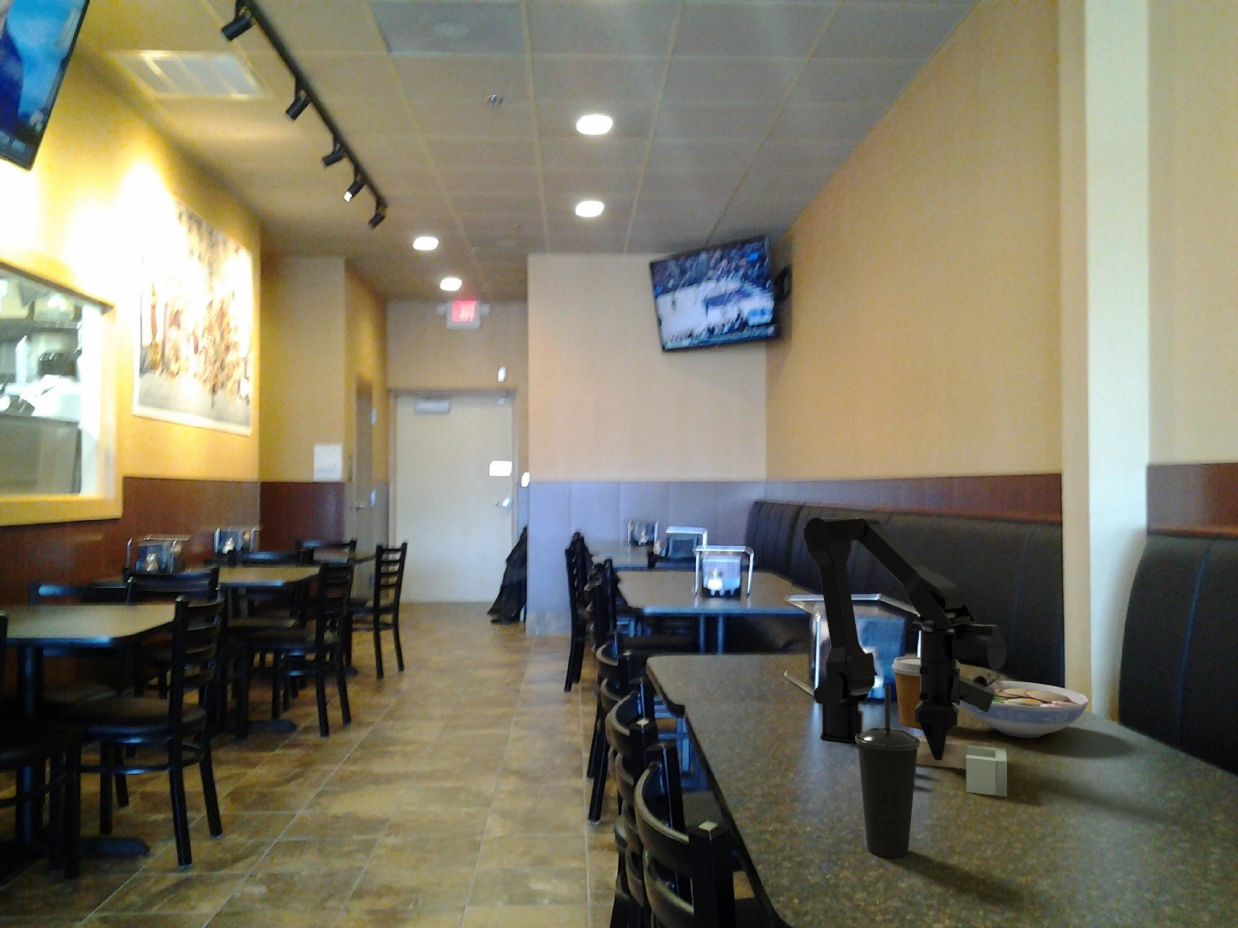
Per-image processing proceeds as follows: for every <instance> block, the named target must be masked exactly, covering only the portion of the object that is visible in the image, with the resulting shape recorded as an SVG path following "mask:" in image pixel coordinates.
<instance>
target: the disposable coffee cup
mask: <svg viewBox="0 0 1238 928" xmlns="http://www.w3.org/2000/svg"><path fill="white" fill-rule="evenodd" d="M891 668H892V670H893V672H894V680H895V689H896V696H897V697H896V698H897V704H898V714H899V721H900V724H901V725H903V726H905V727H910V728H915V729H922V728H921V726H920V723H918V722H915V709H916V706H917V705H918V704H919V703H920V702H921V700H919V693H920V674H919V671H920V656H900V657H899V656H898V657H895V658H894V659H893V664H891Z"/></svg>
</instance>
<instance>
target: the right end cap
mask: <svg viewBox="0 0 1238 928" xmlns="http://www.w3.org/2000/svg"><path fill="white" fill-rule="evenodd" d="M1007 759H1008V758H1007V748H1000V747H993V746H992V747H991V746H989V747H983V746H974V745H967V756H966V769H965V770H966V771H965V772H966V773H965V774H966V775H965V776H966V778H965V779H966V781H965V784H966V789H965V790H966V791H965V792H966V793H972V794H980V795H981V794H982V795H988V796H989V795H991V796H996V797H997V796H998V797H1004V798H1006V797H1008V790H1007V789H1008V787H1007V786H1008V776H1007V775H1008V771H1007V770H1008V760H1007Z"/></svg>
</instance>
